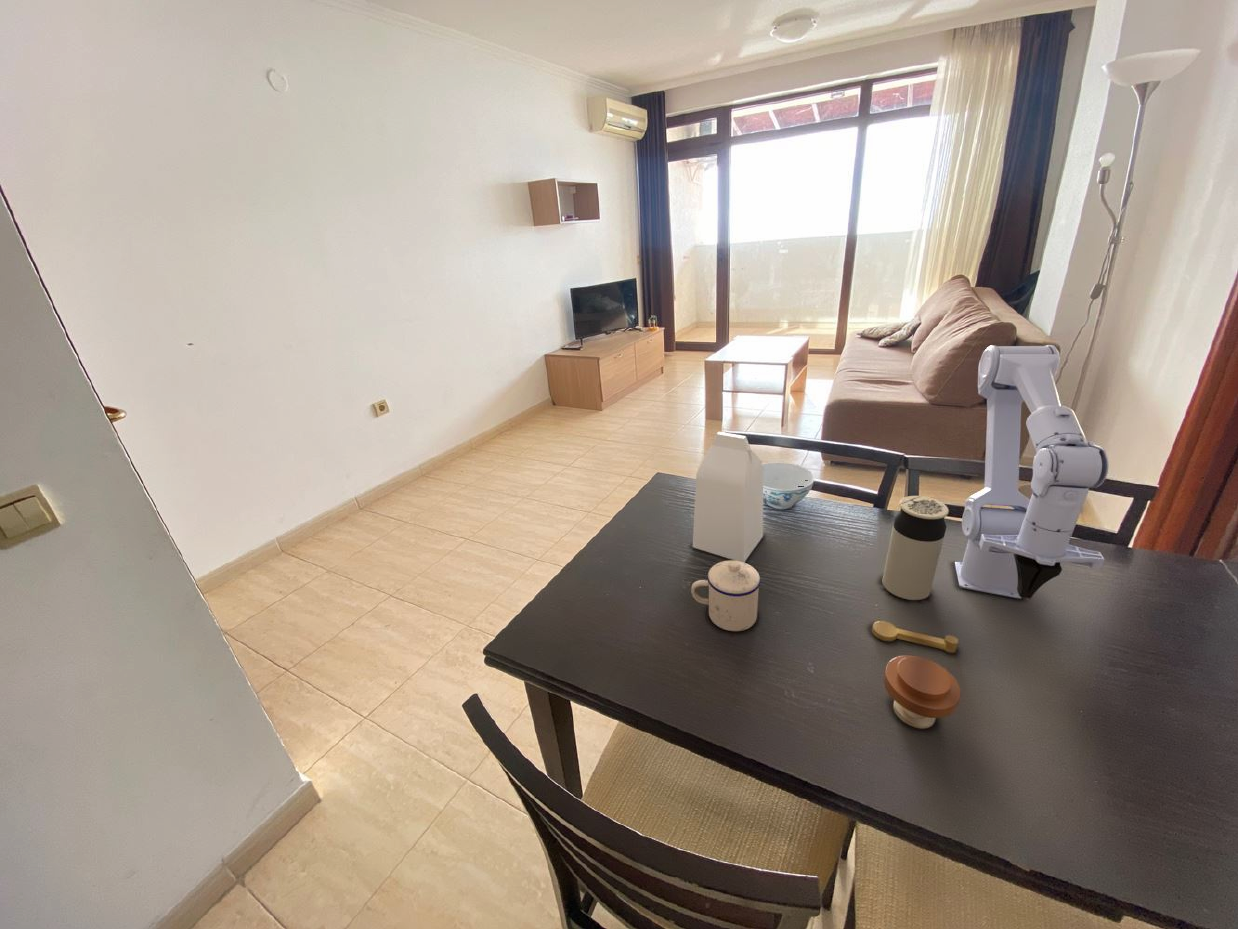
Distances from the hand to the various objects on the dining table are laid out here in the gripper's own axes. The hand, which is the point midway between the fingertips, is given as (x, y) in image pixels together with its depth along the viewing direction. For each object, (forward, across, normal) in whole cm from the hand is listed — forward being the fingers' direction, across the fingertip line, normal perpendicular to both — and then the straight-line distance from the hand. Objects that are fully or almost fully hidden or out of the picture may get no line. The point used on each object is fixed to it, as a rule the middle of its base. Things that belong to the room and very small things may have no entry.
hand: (1023, 594), depth 79 cm
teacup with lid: (+9, -45, -12) cm, 47 cm away
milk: (+9, -50, +11) cm, 52 cm away
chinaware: (+9, -42, +32) cm, 53 cm away
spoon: (+8, -16, -7) cm, 19 cm away
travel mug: (+9, -15, +7) cm, 19 cm away
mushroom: (+8, -15, -22) cm, 28 cm away
